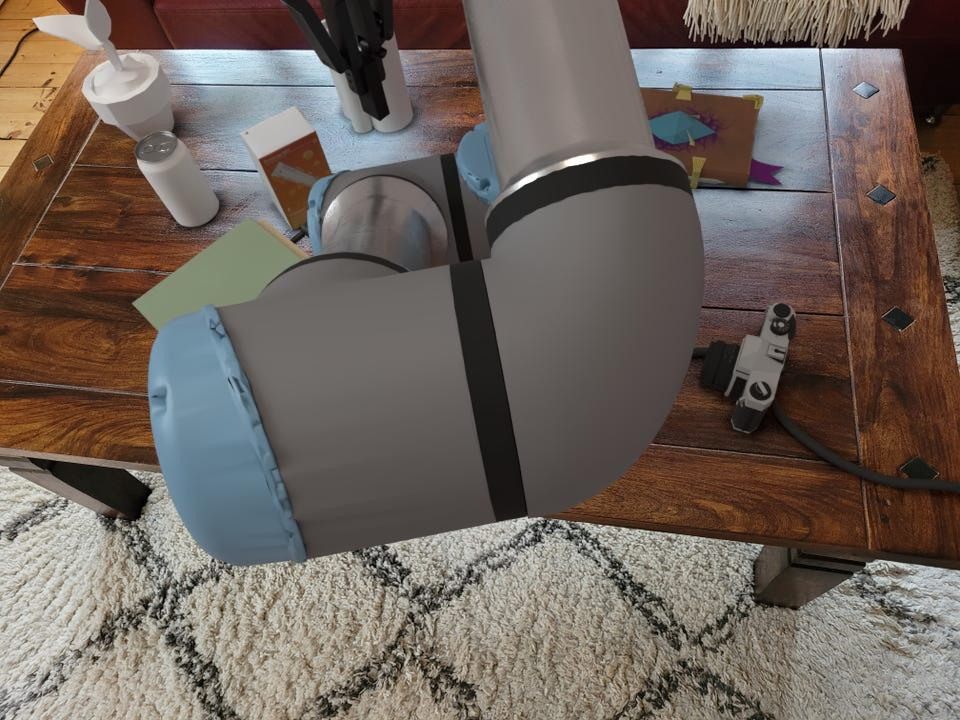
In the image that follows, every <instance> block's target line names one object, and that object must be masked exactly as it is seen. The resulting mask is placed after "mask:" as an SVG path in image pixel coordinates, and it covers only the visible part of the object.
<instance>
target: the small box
mask: <svg viewBox="0 0 960 720" xmlns="http://www.w3.org/2000/svg"><path fill="white" fill-rule="evenodd" d="M238 135H239V138H241V140H242V143H243V145H244V147H245V149H246V151H247V153H248V155H249V156H250V158H251V161H252V162H253V164H254V167H255V169H256V171H257V173H258V174H259V177H260V179H261V181H262V184H263V185H264V187H265V189H266V191H267V192H268V194H269V196H270V198H271V201H272V202H273V204H274V206H275V207H276V209H277V210H278V211H279V213H280V214H281V216H282V217H283V219H284V220H285V222H286V224H287V225H288V226H289V227H290V229H291V230H292V231H295V230H297V229H299V228H301V226H302V225H303V224H304V223H305V222H307V211H308V210H309V206H308V199H309V194H310V191H311V189H312V187H313V186H314V184H315V183H316V182H317V181H318V180H320V179H321V178H324V177H327V176H331V175H333V173H332V170H331V168H330V165H329V162H328V159H327V157H326V154H325V152H324V148H323V145H322V144H321V140H320V138H319V136H318V133H317V131H316V129H315V128H314V126H313V125H312V124H311V123H310V122H309V121H308V118H306V117H305V115H304V114H303V113H302V111H301V110H300V109H299V108H298V106H297V105H293V106H291V107H289V108H287V109H284V110H283V111H280V112H279V113H276V114H274V115H272V116H268V117H267V118H265V119H263V120H261V121H260V122H258V123H256V124H254V125H252V126H250V127H248V128H246V129H244V130H242V131H240V132H239V133H238Z"/></svg>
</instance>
